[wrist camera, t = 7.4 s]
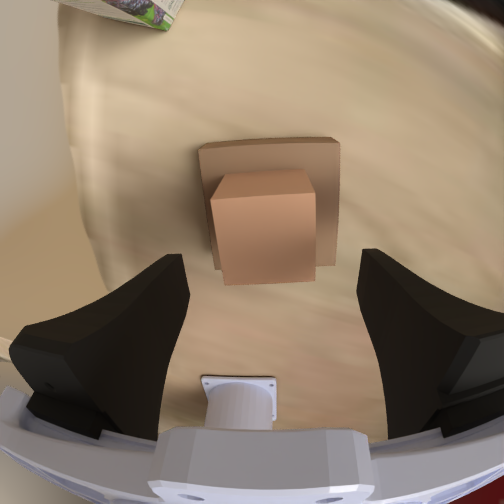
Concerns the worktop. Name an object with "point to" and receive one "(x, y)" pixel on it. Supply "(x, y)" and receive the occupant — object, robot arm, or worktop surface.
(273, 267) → the cube
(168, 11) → the syrup box
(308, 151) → the walnut block
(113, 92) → the worktop surface
